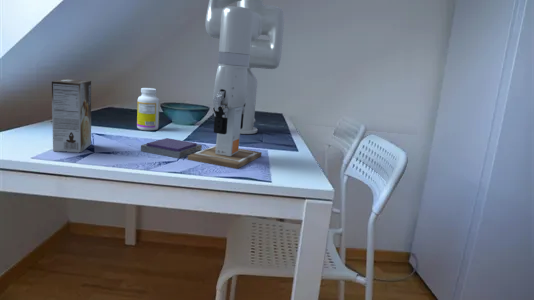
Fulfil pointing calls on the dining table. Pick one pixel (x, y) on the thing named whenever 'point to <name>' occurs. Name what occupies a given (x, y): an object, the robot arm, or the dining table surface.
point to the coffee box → (71, 115)
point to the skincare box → (230, 134)
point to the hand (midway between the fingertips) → (228, 130)
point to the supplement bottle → (148, 110)
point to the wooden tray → (225, 157)
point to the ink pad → (171, 148)
